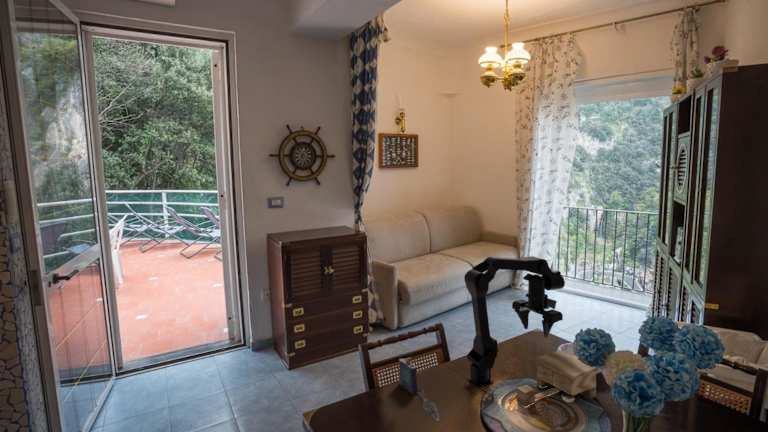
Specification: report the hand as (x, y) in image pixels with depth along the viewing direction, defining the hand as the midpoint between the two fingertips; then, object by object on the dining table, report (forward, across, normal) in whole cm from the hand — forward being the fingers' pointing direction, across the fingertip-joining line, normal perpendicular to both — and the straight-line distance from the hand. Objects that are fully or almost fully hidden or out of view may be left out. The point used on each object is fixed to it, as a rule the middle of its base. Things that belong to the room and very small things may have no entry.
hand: (535, 333), depth 149 cm
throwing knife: (+15, +1, +47) cm, 49 cm away
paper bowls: (+14, -10, -12) cm, 21 cm away
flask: (+15, +13, +47) cm, 51 cm away
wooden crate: (+14, -16, +4) cm, 22 cm away
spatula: (+14, -15, +14) cm, 25 cm away
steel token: (+14, -20, +7) cm, 25 cm away
